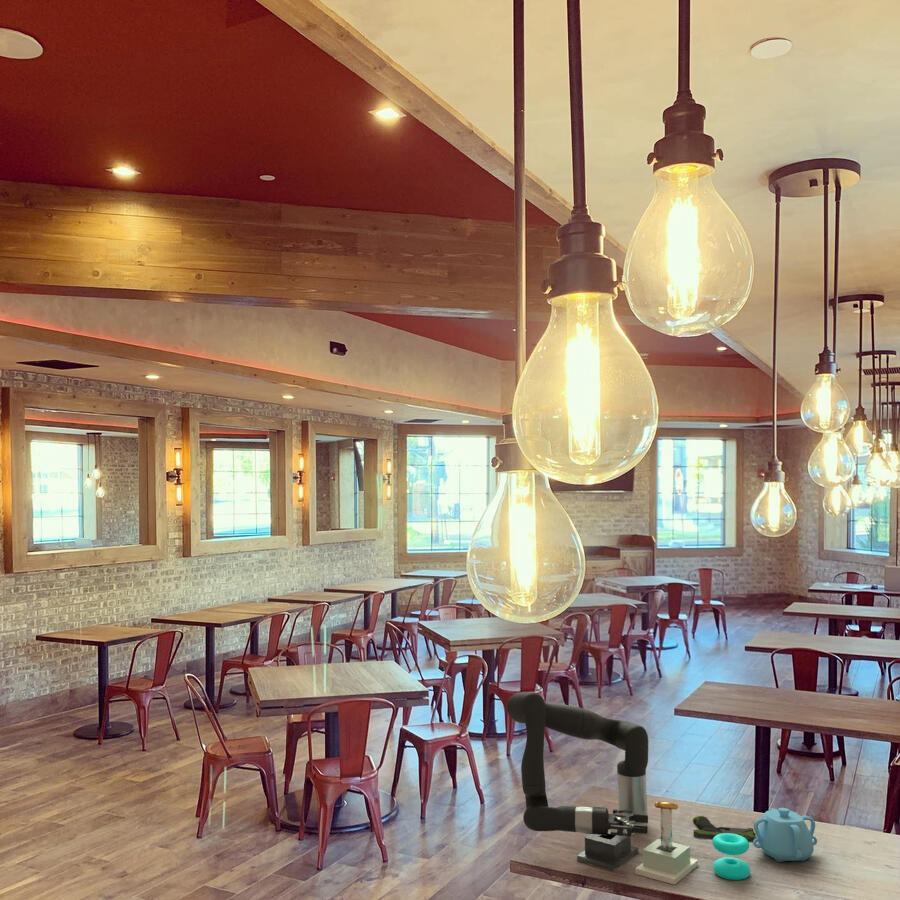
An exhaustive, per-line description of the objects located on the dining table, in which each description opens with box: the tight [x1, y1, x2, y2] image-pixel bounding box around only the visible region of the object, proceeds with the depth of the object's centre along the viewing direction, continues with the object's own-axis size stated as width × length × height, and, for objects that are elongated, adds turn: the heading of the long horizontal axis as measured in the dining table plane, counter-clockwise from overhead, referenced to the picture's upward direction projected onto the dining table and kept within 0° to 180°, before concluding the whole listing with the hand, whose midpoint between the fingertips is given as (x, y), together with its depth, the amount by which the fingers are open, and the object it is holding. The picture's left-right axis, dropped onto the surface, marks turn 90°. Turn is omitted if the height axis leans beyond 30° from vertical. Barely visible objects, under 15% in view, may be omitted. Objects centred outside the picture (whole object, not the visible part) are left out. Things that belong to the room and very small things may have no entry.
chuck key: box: [654, 801, 679, 853], centre depth 252 cm, size 7×3×18 cm, turn 76°
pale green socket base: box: [634, 838, 699, 885], centre depth 252 cm, size 16×12×6 cm
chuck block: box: [576, 829, 640, 872], centre depth 262 cm, size 16×12×6 cm
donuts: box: [712, 833, 751, 881], centre depth 248 cm, size 10×10×10 cm
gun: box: [692, 815, 757, 842], centre depth 280 cm, size 2×19×15 cm
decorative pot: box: [752, 807, 818, 863], centre depth 261 cm, size 16×16×14 cm
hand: (647, 824), depth 254 cm, fingers open, 8 cm apart
